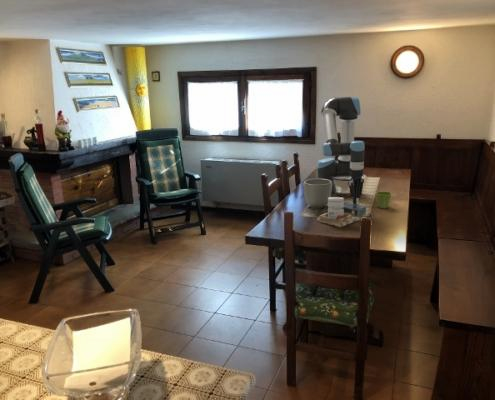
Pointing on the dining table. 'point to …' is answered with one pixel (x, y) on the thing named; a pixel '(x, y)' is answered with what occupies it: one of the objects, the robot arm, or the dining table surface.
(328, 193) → the planter
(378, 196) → the plant pot
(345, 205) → the block
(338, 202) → the ink box
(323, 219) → the cradle
